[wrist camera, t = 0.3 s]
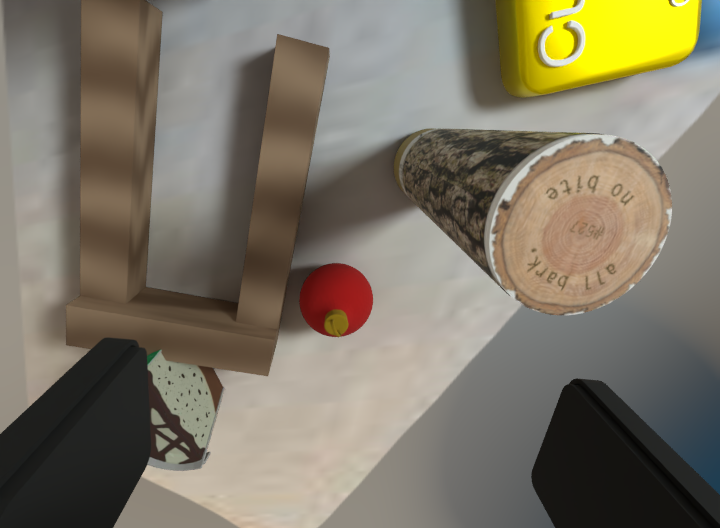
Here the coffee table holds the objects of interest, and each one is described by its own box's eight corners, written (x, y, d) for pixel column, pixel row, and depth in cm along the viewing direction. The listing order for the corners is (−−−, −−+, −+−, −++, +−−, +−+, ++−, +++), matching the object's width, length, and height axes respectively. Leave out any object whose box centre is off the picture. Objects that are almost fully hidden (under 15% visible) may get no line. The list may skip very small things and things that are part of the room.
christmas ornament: (289, 272, 41) (276, 317, 31) (350, 242, 40) (356, 278, 31) (322, 326, 43) (319, 382, 34) (380, 298, 42) (394, 347, 33)
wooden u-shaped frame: (111, -2, 32) (63, -30, 26) (329, 56, 34) (328, 42, 29) (103, 314, 41) (66, 345, 35) (276, 343, 43) (268, 376, 38)
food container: (126, 324, 41) (65, 393, 32) (179, 308, 41) (132, 374, 32) (183, 407, 46) (144, 487, 37) (231, 394, 46) (204, 471, 37)
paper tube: (447, 208, 39) (614, 333, 16) (382, 189, 38) (460, 291, 15) (472, 141, 37) (709, 167, 14) (405, 118, 36) (537, 105, 13)
